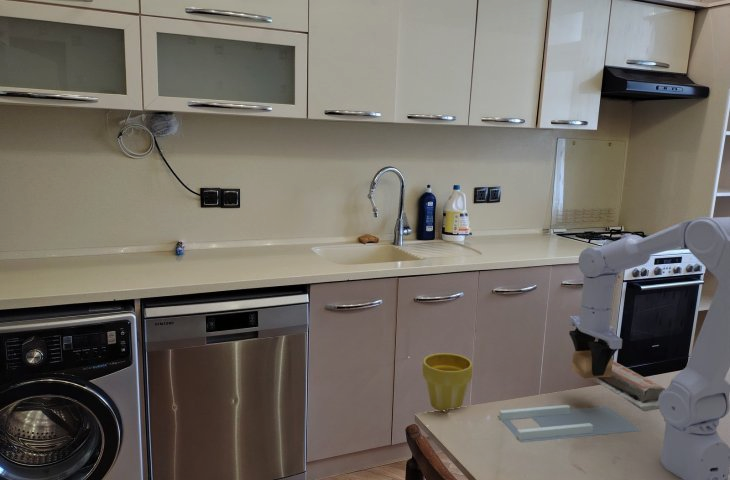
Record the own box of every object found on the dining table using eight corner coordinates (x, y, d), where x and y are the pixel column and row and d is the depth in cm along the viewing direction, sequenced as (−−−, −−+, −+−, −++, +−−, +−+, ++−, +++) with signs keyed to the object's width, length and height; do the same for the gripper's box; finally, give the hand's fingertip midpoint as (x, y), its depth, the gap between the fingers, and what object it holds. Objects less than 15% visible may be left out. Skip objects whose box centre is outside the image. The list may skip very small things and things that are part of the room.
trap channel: (640, 435, 104) (642, 423, 103) (521, 447, 98) (522, 434, 98) (607, 410, 113) (608, 399, 113) (497, 420, 108) (498, 408, 108)
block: (610, 376, 109) (612, 357, 109) (584, 378, 108) (586, 359, 107) (597, 367, 114) (599, 349, 113) (571, 369, 112) (573, 351, 112)
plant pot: (413, 397, 118) (415, 354, 116) (456, 391, 121) (458, 350, 119) (433, 420, 108) (435, 373, 106) (479, 413, 111) (482, 368, 109)
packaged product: (582, 360, 129) (616, 356, 132) (581, 379, 130) (614, 374, 133) (641, 392, 112) (678, 387, 115) (639, 414, 113) (676, 408, 116)
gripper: (638, 316, 102) (631, 383, 104) (592, 295, 116) (586, 355, 118) (605, 317, 101) (599, 386, 103) (562, 296, 115) (557, 357, 117)
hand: (590, 369), depth 111 cm, fingers closed on block, 4 cm apart
